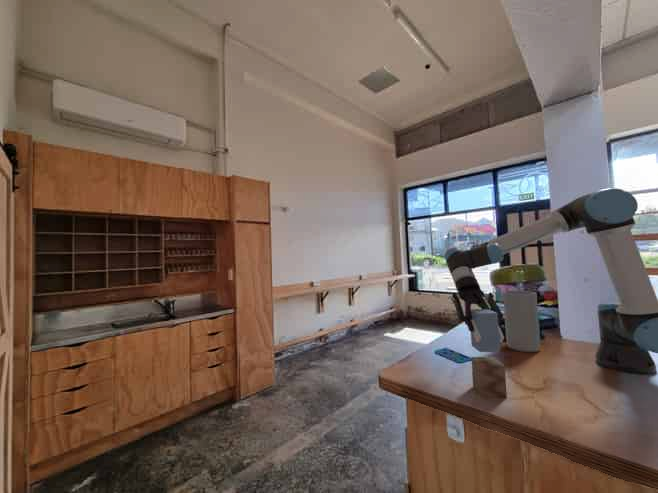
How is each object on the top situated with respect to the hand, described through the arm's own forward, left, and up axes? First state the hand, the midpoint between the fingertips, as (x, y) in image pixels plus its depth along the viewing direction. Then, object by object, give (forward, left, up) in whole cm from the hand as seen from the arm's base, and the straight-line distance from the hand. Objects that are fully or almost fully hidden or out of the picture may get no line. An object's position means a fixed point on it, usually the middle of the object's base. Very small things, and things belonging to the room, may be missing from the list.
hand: (490, 340), depth 84 cm
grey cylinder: (-17, -51, -18) cm, 57 cm away
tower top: (+1, -3, -13) cm, 13 cm away
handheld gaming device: (+12, -32, -18) cm, 39 cm away
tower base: (+1, -3, -18) cm, 18 cm away
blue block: (+1, -3, -4) cm, 5 cm away
